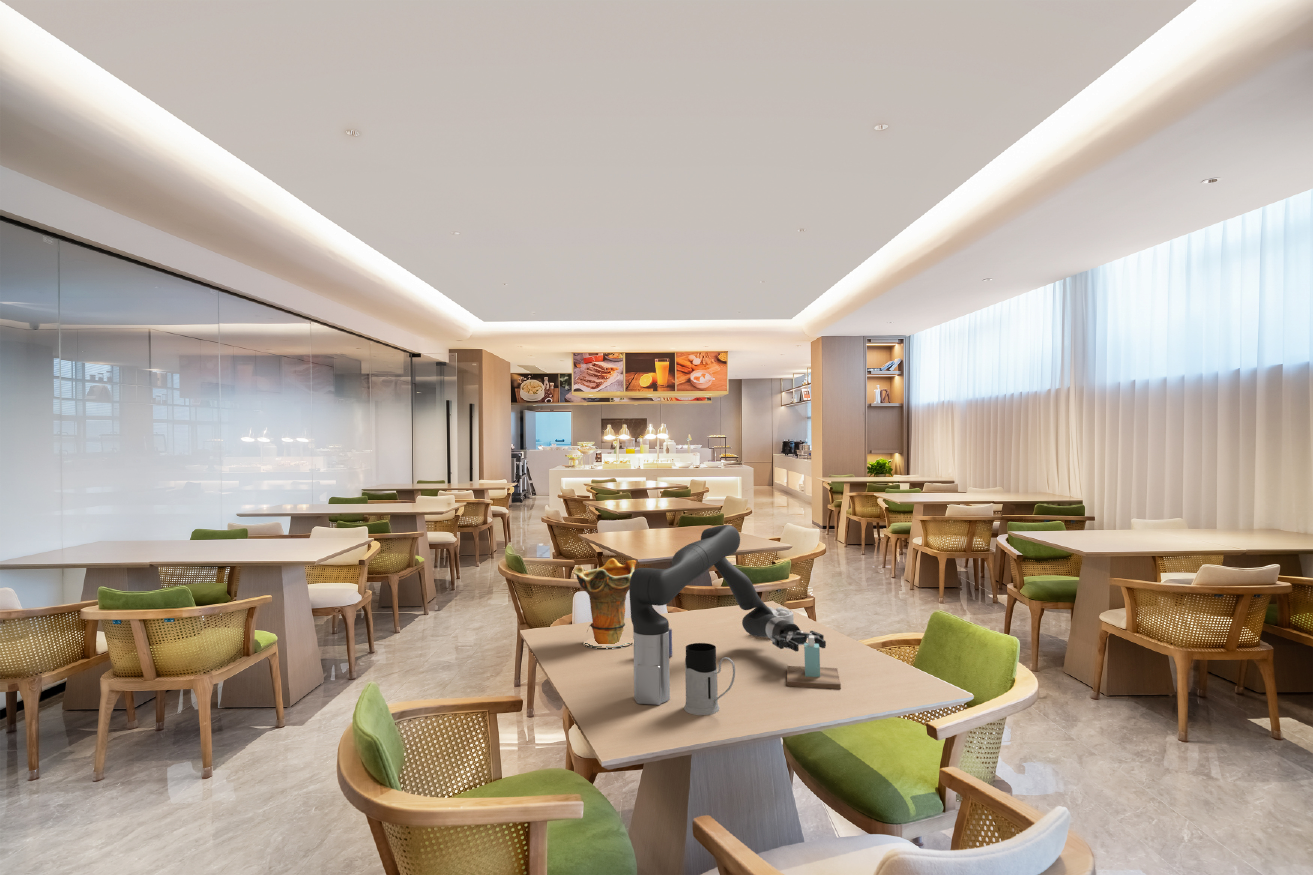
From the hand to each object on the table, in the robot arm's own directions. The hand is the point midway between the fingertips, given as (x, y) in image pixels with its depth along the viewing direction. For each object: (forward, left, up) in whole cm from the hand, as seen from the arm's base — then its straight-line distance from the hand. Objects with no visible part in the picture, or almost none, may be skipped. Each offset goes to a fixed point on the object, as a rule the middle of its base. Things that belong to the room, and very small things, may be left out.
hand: (811, 646), depth 184 cm
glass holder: (-29, +25, -9) cm, 39 cm away
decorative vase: (+27, +67, -9) cm, 73 cm away
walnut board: (-1, 0, -9) cm, 9 cm away
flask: (+13, +47, -9) cm, 49 cm away
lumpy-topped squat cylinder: (+47, +11, -9) cm, 49 cm away
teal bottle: (-1, 0, -8) cm, 8 cm away
